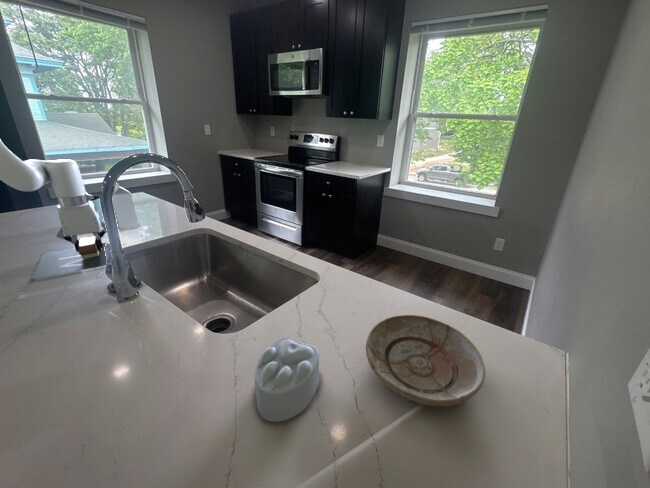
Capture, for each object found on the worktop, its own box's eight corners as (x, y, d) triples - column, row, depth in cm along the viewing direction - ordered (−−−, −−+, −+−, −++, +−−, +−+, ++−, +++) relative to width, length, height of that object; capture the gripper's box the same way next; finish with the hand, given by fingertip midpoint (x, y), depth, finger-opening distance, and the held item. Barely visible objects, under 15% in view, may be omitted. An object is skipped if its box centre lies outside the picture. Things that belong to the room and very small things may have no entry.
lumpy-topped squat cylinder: (324, 376, 61) (326, 344, 57) (292, 433, 50) (291, 398, 46) (281, 358, 64) (279, 327, 61) (242, 408, 54) (238, 374, 50)
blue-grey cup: (103, 218, 135) (96, 193, 130) (113, 224, 130) (105, 197, 125) (76, 225, 128) (67, 198, 123) (86, 231, 122) (76, 203, 117)
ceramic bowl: (360, 328, 74) (361, 311, 72) (454, 332, 74) (459, 316, 72) (369, 415, 53) (372, 396, 51) (501, 422, 53) (510, 403, 51)
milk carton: (135, 222, 132) (124, 180, 124) (140, 227, 128) (129, 183, 120) (116, 226, 128) (104, 182, 120) (120, 231, 123) (108, 186, 115)
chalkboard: (31, 283, 87) (30, 280, 87) (44, 255, 103) (43, 252, 102) (112, 266, 97) (111, 264, 97) (113, 244, 112) (113, 241, 112)
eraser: (98, 255, 101) (94, 243, 99) (82, 258, 99) (77, 246, 97) (100, 246, 107) (96, 235, 105) (84, 249, 105) (80, 238, 103)
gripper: (106, 194, 102) (120, 242, 110) (41, 200, 93) (61, 252, 101) (105, 199, 96) (119, 250, 104) (36, 207, 88) (57, 261, 96)
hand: (90, 250), depth 102 cm, fingers closed on eraser, 4 cm apart
